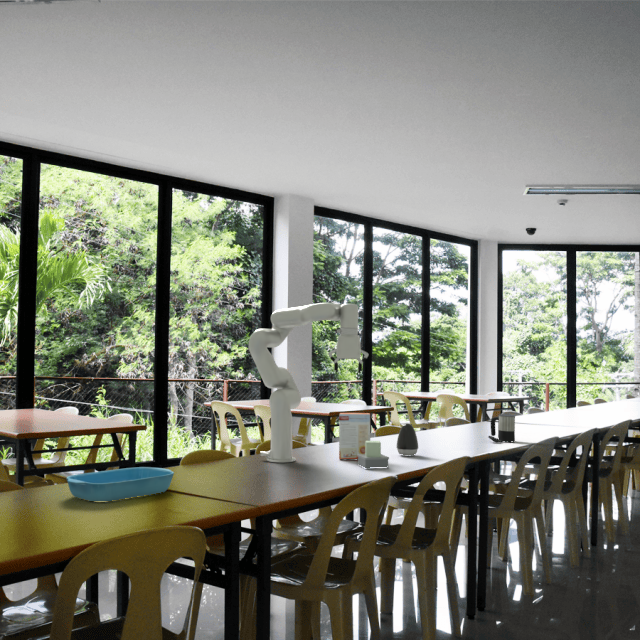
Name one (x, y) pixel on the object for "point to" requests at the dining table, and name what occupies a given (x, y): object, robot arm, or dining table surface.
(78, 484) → the casserole dish
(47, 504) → the dining table surface
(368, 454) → the green cube
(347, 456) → the cracker box
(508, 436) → the milk frother
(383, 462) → the grey storage box
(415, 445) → the dark grey rounded piece
